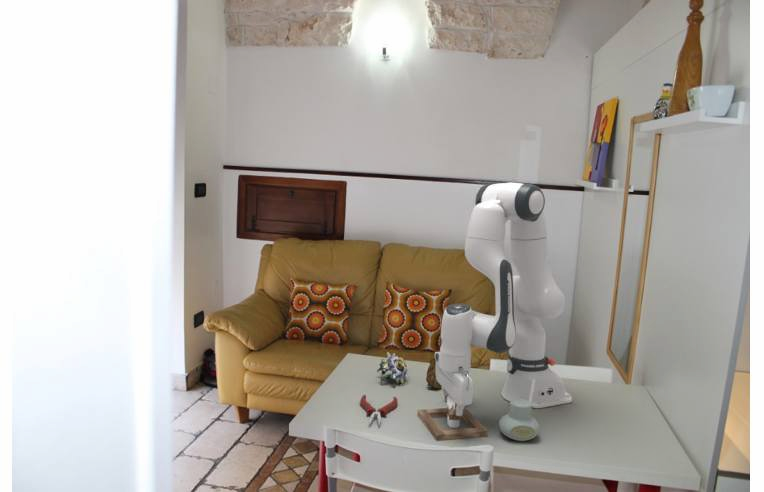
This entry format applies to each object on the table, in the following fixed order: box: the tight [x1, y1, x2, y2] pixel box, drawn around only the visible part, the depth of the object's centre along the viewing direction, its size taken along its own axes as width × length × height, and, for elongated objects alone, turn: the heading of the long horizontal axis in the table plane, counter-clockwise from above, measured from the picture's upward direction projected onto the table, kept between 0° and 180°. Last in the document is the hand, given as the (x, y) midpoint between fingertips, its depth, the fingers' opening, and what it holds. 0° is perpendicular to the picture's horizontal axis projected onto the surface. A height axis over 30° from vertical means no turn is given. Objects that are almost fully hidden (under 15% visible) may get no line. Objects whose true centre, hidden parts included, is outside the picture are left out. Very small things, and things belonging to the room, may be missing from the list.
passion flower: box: [376, 351, 409, 385], centre depth 211 cm, size 11×11×12 cm
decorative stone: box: [425, 356, 442, 390], centre depth 207 cm, size 10×9×4 cm
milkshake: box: [445, 394, 461, 429], centre depth 176 cm, size 4×5×10 cm
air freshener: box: [498, 399, 540, 442], centre depth 171 cm, size 11×8×10 cm
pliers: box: [359, 394, 398, 427], centre depth 183 cm, size 12×20×3 cm, turn 176°
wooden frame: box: [416, 406, 489, 441], centre depth 177 cm, size 15×17×2 cm
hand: (452, 408), depth 177 cm, fingers open, 8 cm apart
